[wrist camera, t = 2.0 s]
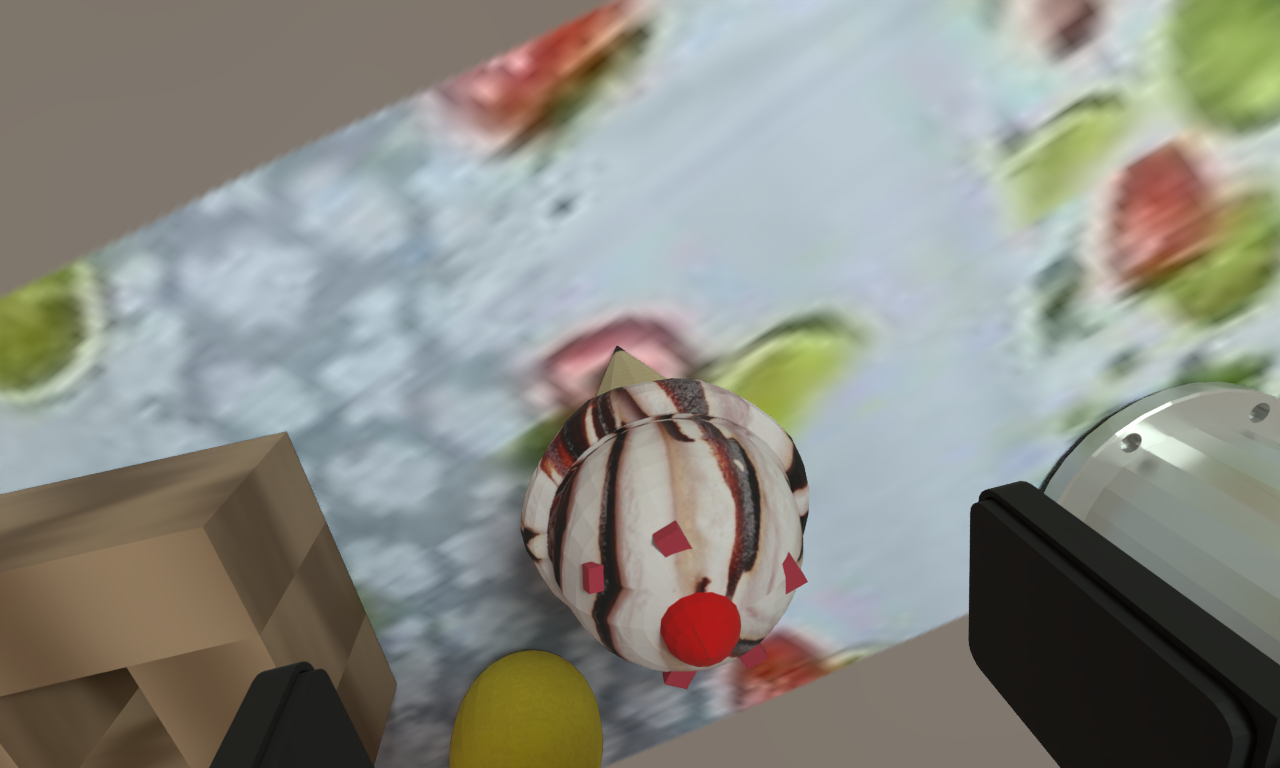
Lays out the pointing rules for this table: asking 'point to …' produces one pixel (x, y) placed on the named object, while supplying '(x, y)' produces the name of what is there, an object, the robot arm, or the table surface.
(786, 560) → the ice cream cone
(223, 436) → the table surface
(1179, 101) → the table surface
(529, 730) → the lemon
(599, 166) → the table surface
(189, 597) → the cone stand
